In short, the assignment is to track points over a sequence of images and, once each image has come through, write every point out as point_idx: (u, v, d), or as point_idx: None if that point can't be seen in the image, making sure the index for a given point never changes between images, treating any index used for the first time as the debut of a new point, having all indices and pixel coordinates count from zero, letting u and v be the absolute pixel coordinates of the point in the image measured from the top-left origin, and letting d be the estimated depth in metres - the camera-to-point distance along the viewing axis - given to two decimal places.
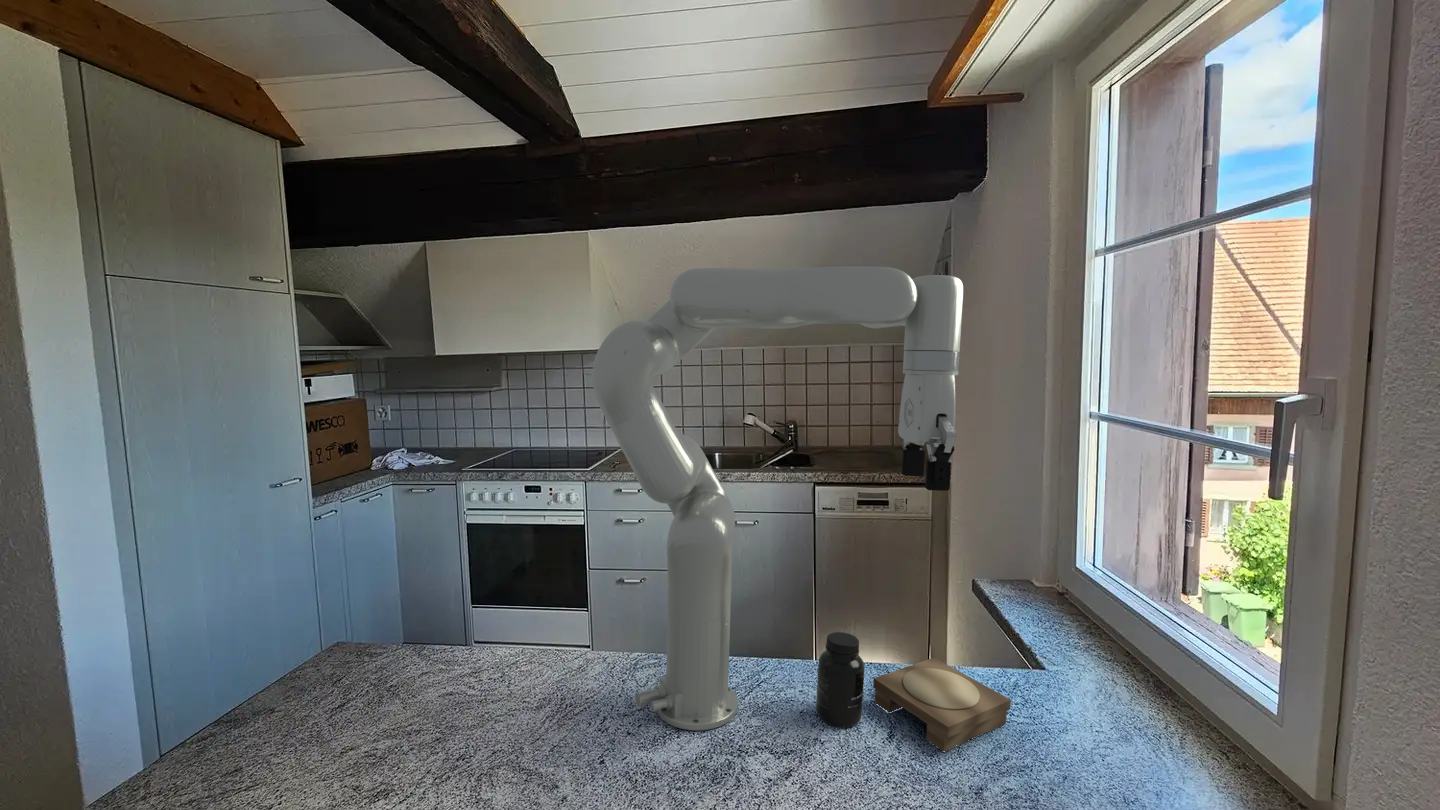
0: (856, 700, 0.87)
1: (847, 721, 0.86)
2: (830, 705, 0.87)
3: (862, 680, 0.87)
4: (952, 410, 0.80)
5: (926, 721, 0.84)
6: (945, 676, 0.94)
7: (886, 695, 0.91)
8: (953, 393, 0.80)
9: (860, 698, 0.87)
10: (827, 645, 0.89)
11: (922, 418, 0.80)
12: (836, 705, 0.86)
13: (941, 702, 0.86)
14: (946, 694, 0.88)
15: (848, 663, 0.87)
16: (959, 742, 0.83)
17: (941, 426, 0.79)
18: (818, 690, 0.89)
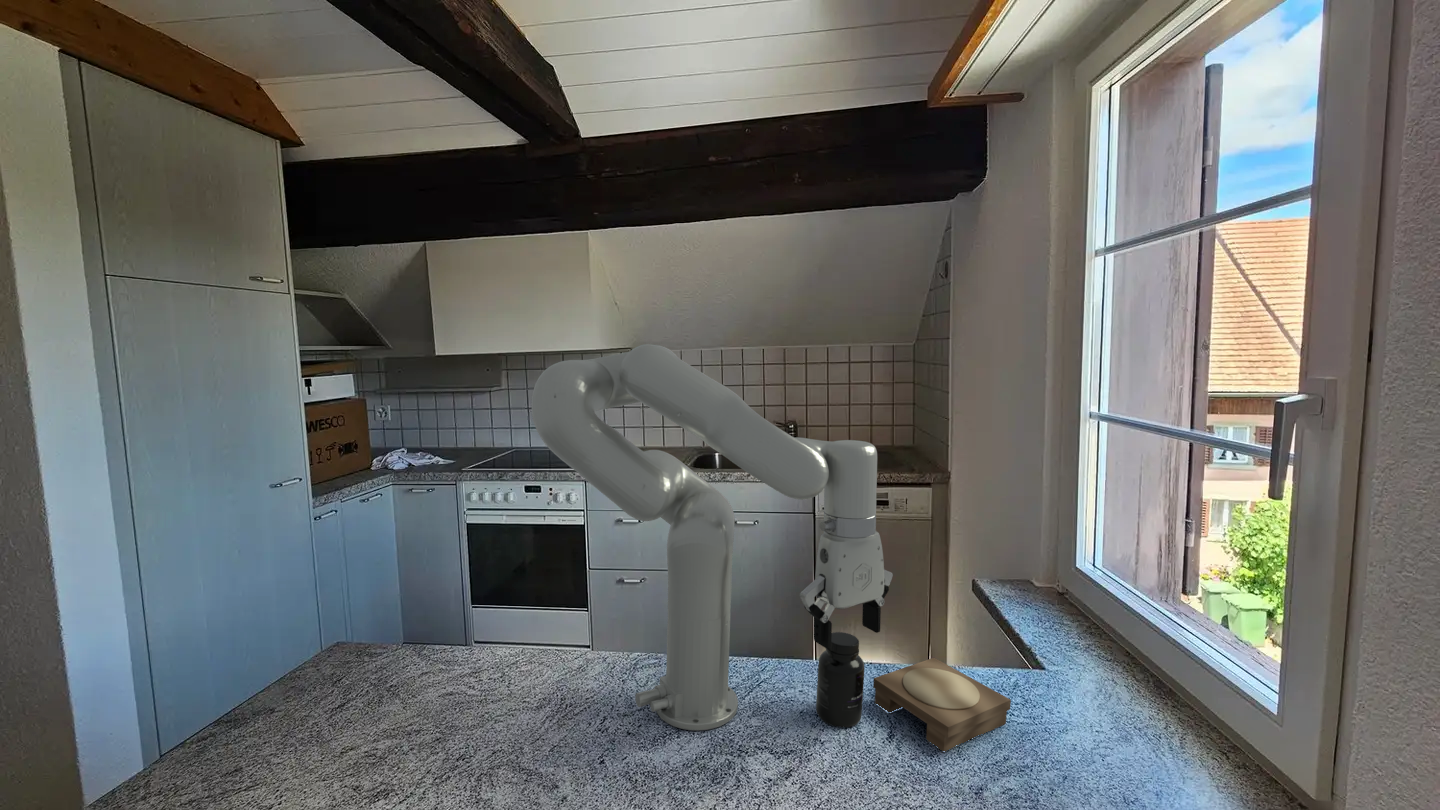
0: (856, 700, 0.87)
1: (847, 721, 0.86)
2: (830, 705, 0.87)
3: (862, 680, 0.87)
4: None
5: (926, 721, 0.84)
6: (945, 676, 0.94)
7: (886, 695, 0.91)
8: None
9: (860, 698, 0.87)
10: None
11: (883, 572, 0.88)
12: (836, 705, 0.86)
13: (941, 702, 0.86)
14: (946, 694, 0.88)
15: (848, 663, 0.87)
16: (959, 742, 0.83)
17: None
18: (818, 690, 0.89)
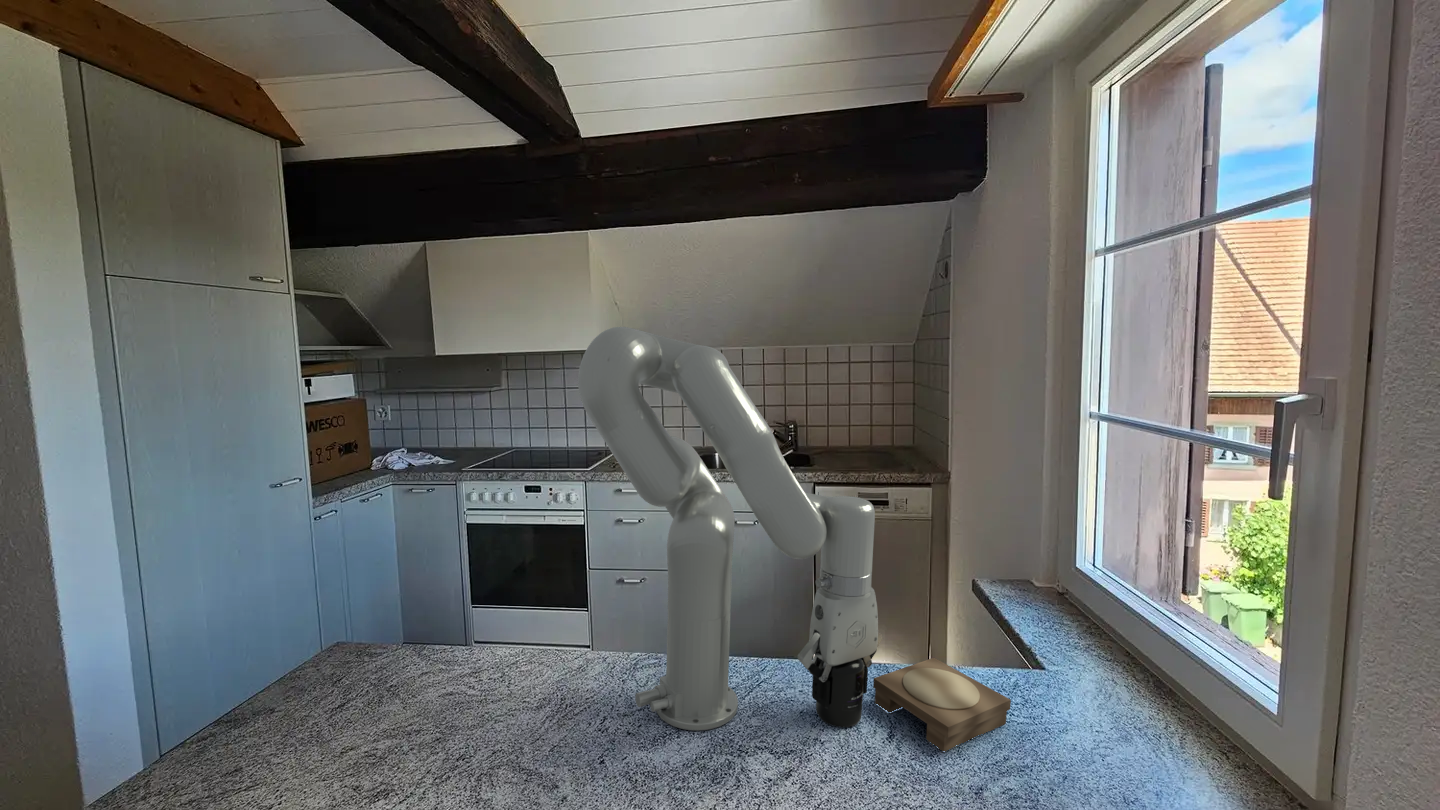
0: (856, 700, 0.87)
1: (847, 721, 0.86)
2: (830, 705, 0.87)
3: (862, 680, 0.87)
4: None
5: (926, 721, 0.84)
6: (945, 676, 0.94)
7: (886, 695, 0.91)
8: None
9: (860, 698, 0.87)
10: None
11: (877, 628, 0.89)
12: (836, 705, 0.86)
13: (941, 702, 0.86)
14: (946, 694, 0.88)
15: (848, 663, 0.87)
16: (959, 742, 0.83)
17: None
18: None
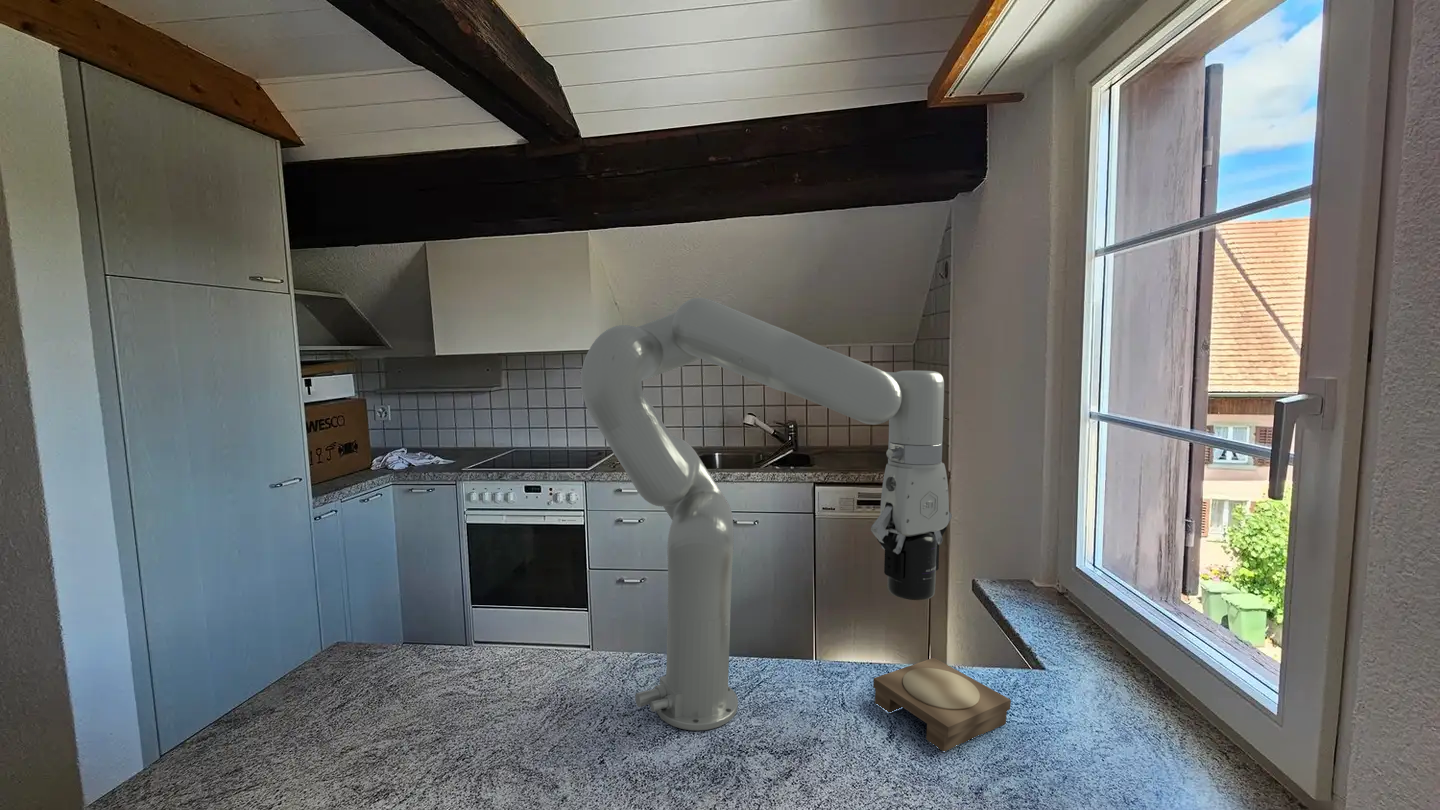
0: (930, 572, 0.86)
1: (922, 593, 0.85)
2: (905, 578, 0.86)
3: (935, 553, 0.86)
4: None
5: (926, 721, 0.84)
6: (945, 676, 0.94)
7: (886, 695, 0.91)
8: None
9: (934, 571, 0.86)
10: None
11: (948, 503, 0.88)
12: (911, 577, 0.85)
13: (941, 702, 0.86)
14: (946, 694, 0.88)
15: (921, 535, 0.86)
16: (959, 742, 0.83)
17: None
18: None
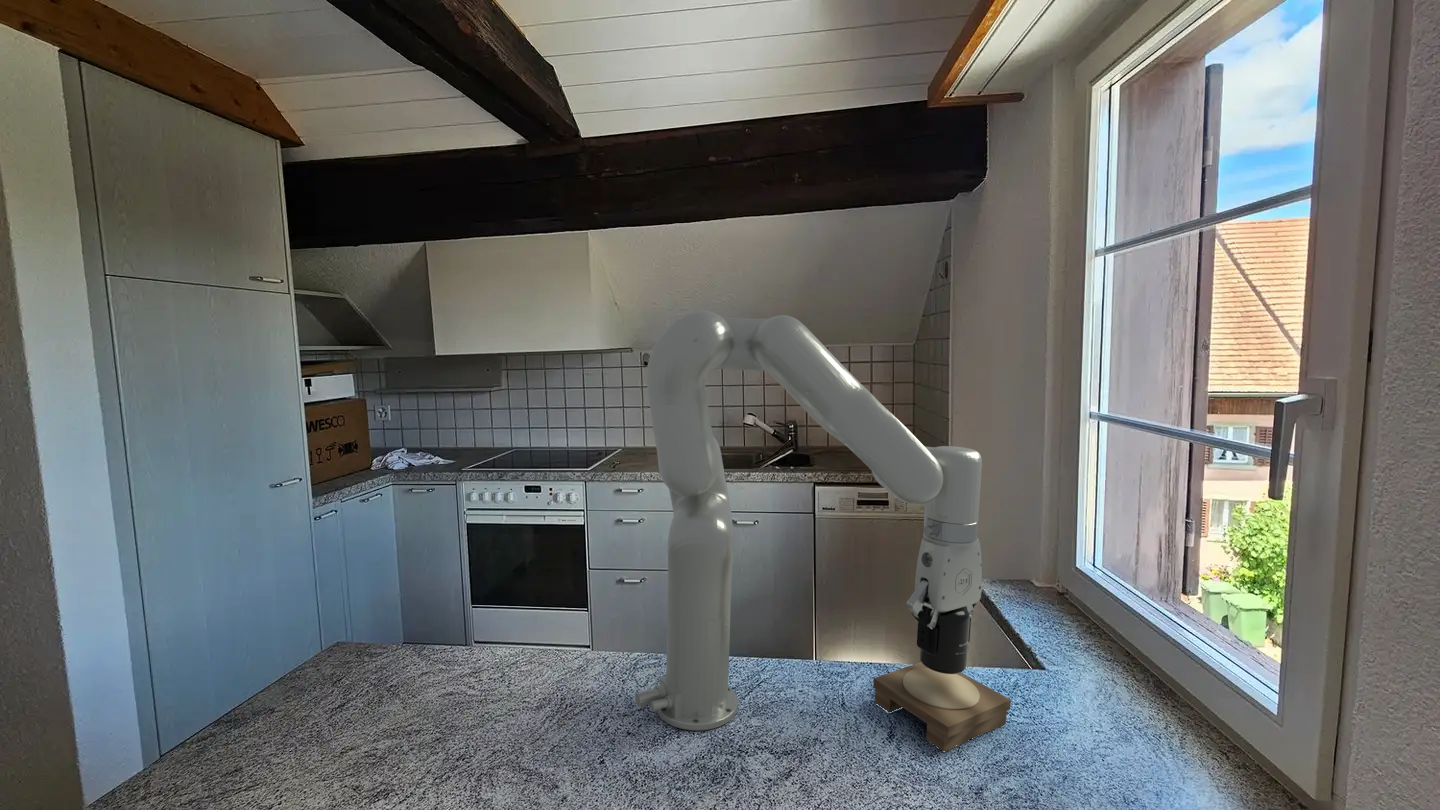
0: (963, 647, 0.87)
1: (955, 668, 0.87)
2: (938, 652, 0.87)
3: (968, 628, 0.88)
4: None
5: (926, 721, 0.84)
6: (945, 676, 0.94)
7: (886, 695, 0.91)
8: None
9: (966, 645, 0.88)
10: None
11: (981, 577, 0.89)
12: (944, 652, 0.87)
13: (941, 702, 0.86)
14: (946, 694, 0.88)
15: (955, 610, 0.87)
16: (959, 742, 0.83)
17: None
18: None
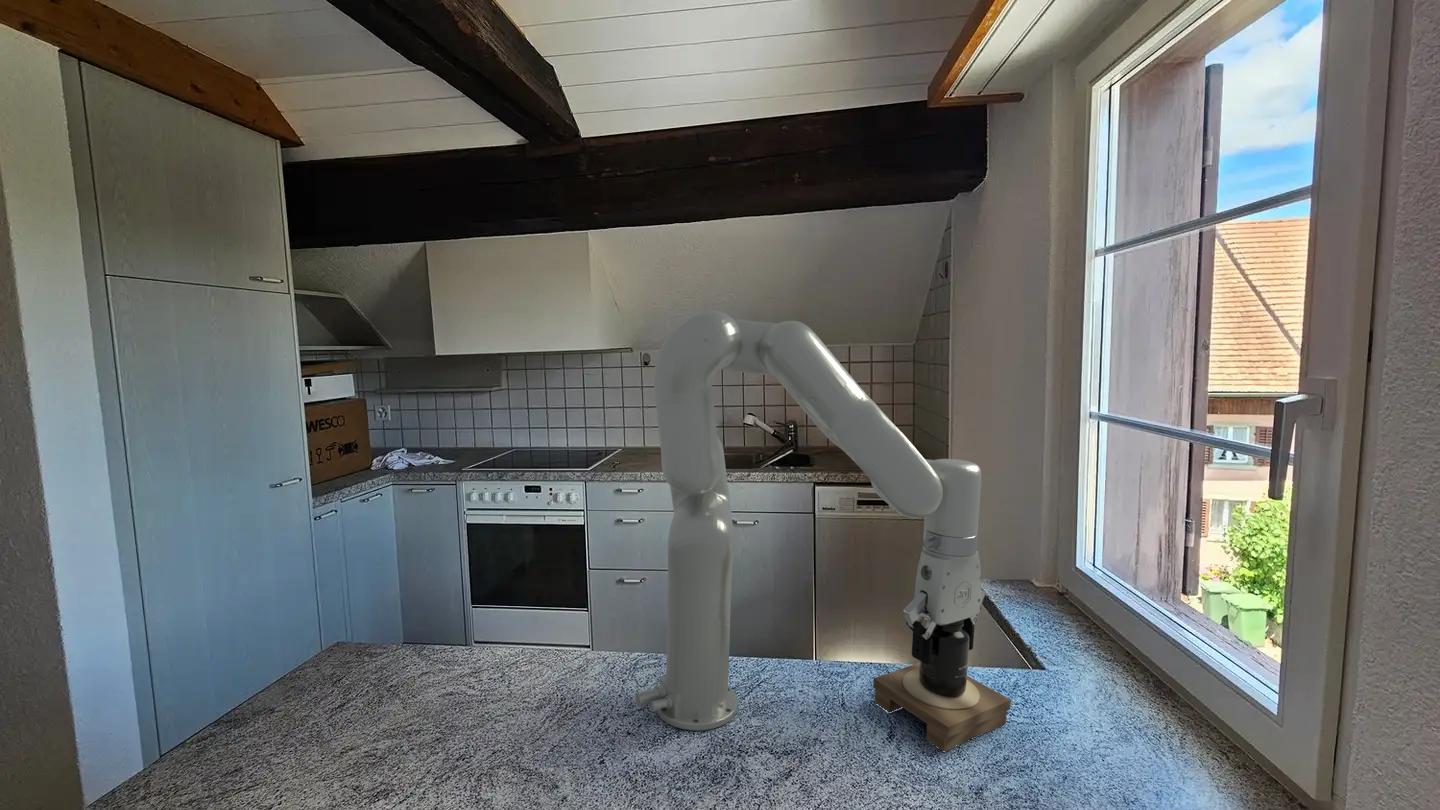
0: (963, 670, 0.88)
1: (954, 691, 0.87)
2: (938, 675, 0.88)
3: (968, 651, 0.88)
4: None
5: (926, 721, 0.84)
6: None
7: (886, 695, 0.91)
8: None
9: (966, 668, 0.88)
10: None
11: (981, 590, 0.90)
12: (943, 674, 0.87)
13: (941, 702, 0.86)
14: None
15: (955, 633, 0.88)
16: (959, 742, 0.83)
17: None
18: None
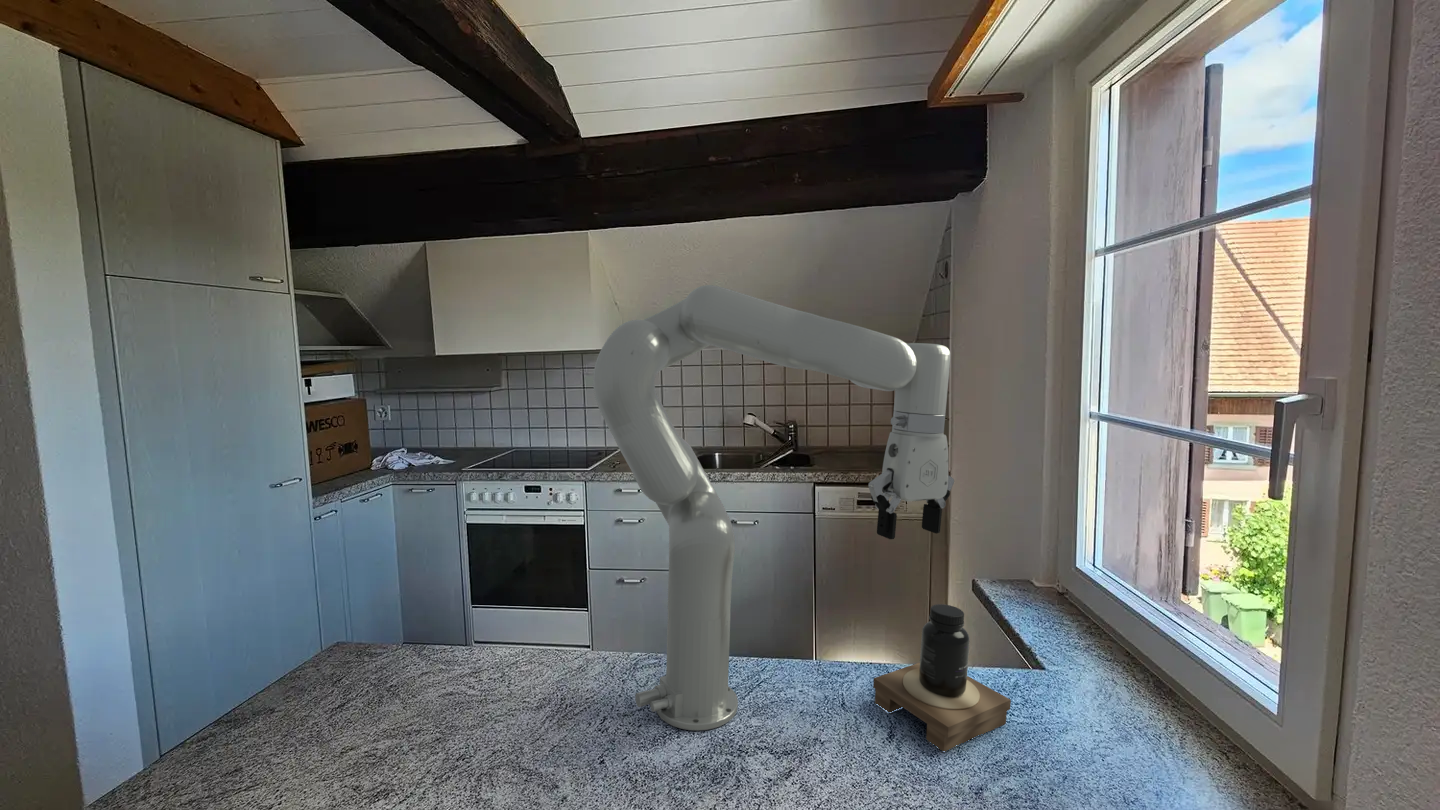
0: (963, 670, 0.88)
1: (954, 691, 0.87)
2: (938, 675, 0.88)
3: (968, 651, 0.88)
4: None
5: (926, 721, 0.84)
6: None
7: (886, 695, 0.91)
8: None
9: (966, 668, 0.88)
10: (932, 616, 0.90)
11: None
12: (944, 674, 0.87)
13: (941, 702, 0.86)
14: None
15: (955, 633, 0.88)
16: (959, 742, 0.83)
17: None
18: (923, 661, 0.90)
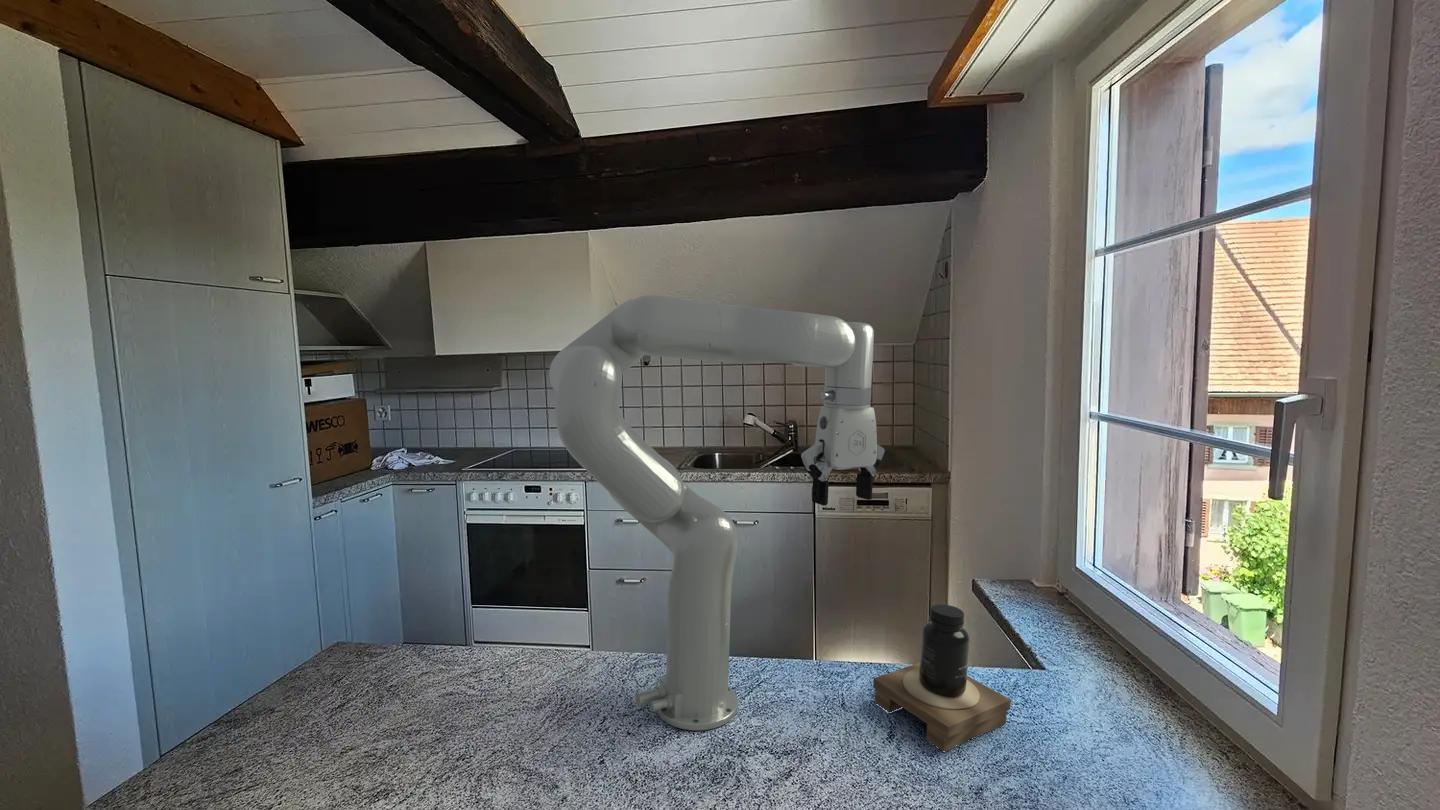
0: (963, 670, 0.88)
1: (954, 691, 0.87)
2: (938, 675, 0.88)
3: (968, 651, 0.88)
4: None
5: (926, 721, 0.84)
6: None
7: (886, 695, 0.91)
8: None
9: (966, 668, 0.88)
10: (932, 616, 0.90)
11: (876, 443, 0.98)
12: (944, 674, 0.87)
13: (941, 702, 0.86)
14: None
15: (955, 633, 0.88)
16: (959, 742, 0.83)
17: None
18: (923, 661, 0.90)
